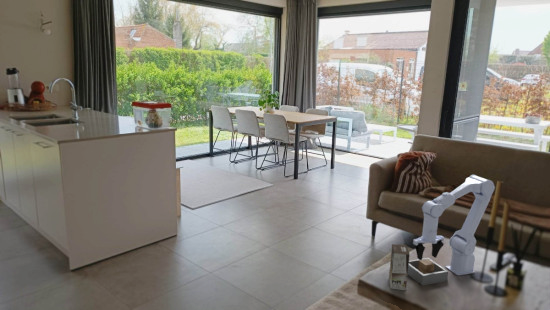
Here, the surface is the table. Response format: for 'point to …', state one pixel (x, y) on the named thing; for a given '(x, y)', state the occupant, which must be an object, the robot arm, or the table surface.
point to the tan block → (426, 266)
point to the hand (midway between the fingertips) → (426, 257)
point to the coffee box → (399, 267)
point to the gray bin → (430, 278)
